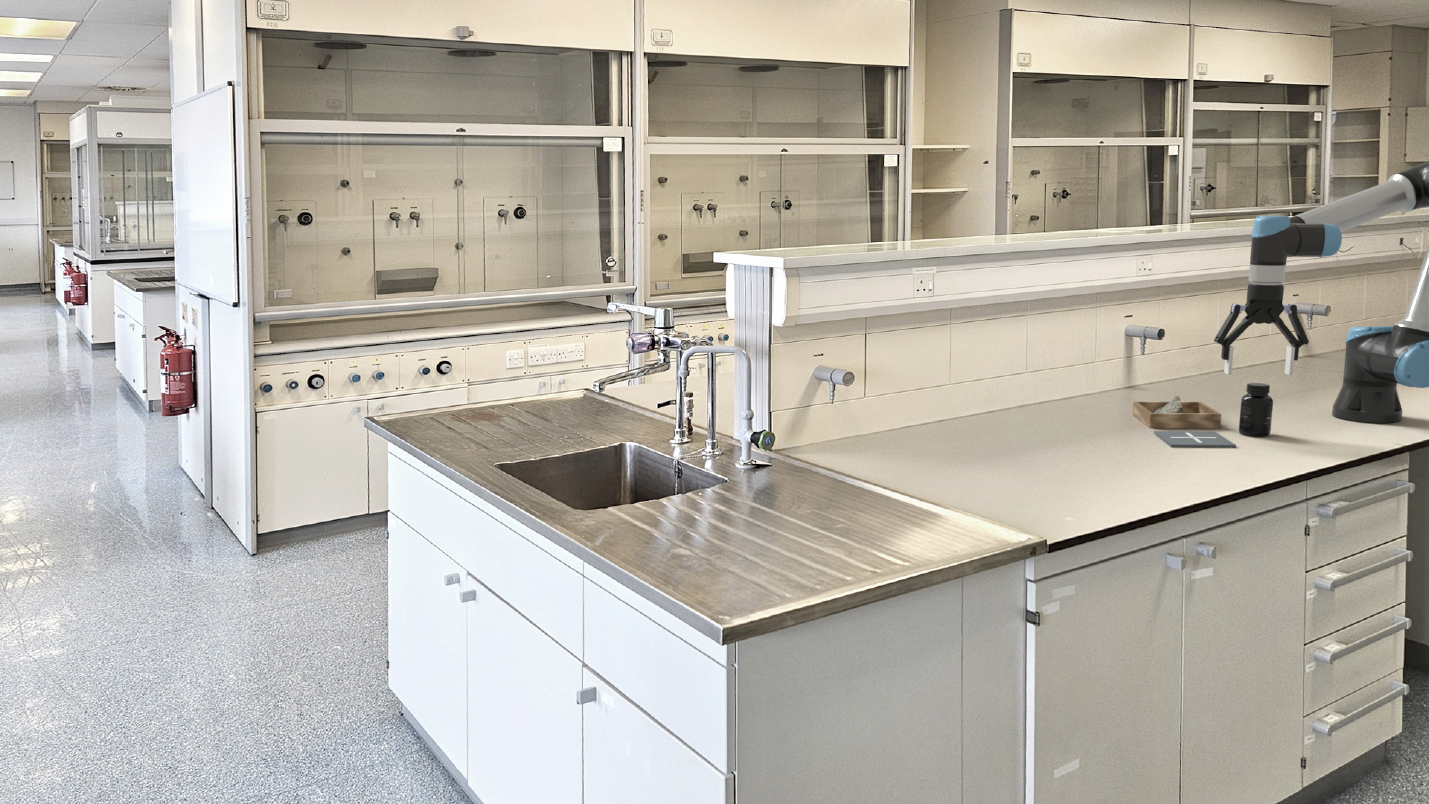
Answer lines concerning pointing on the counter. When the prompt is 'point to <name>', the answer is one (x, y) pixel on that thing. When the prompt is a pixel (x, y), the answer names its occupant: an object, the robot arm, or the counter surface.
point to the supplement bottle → (1256, 411)
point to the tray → (1177, 415)
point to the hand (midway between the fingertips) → (1257, 374)
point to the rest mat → (1194, 439)
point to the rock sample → (1172, 407)
